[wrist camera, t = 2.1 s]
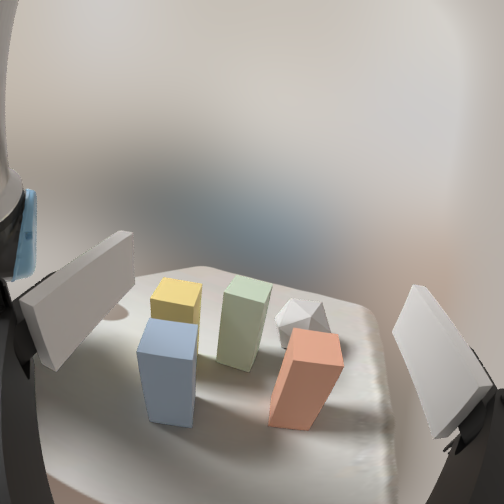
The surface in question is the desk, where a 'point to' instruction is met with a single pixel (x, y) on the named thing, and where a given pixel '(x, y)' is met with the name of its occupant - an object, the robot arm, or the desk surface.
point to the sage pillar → (242, 321)
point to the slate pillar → (169, 371)
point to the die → (300, 318)
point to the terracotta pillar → (305, 378)
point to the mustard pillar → (177, 302)
